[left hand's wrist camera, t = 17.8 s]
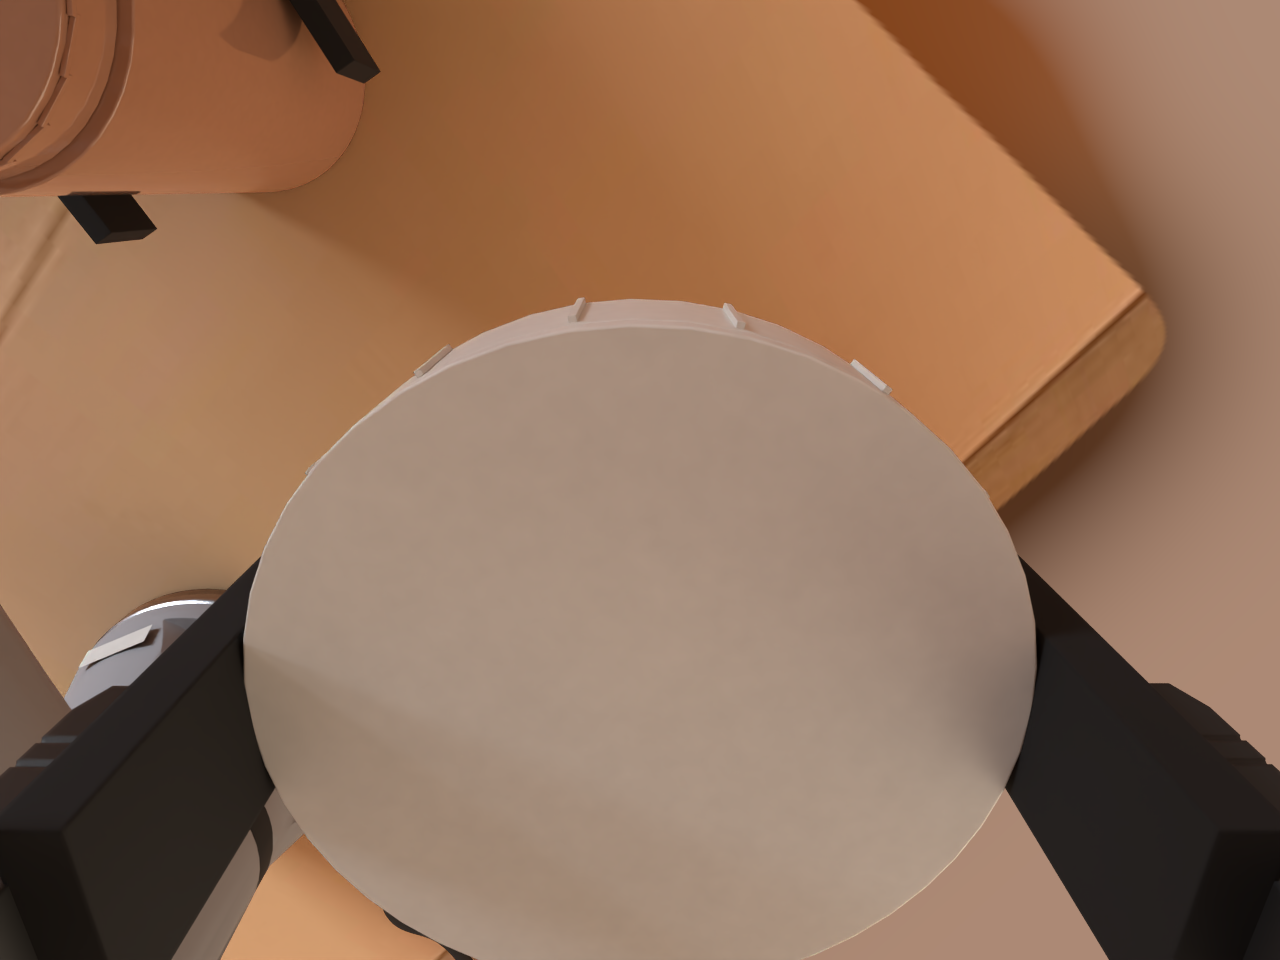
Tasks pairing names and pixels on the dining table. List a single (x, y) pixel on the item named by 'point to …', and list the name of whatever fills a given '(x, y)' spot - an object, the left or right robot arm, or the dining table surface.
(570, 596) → the lid
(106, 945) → the left robot arm
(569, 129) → the dining table surface
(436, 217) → the dining table surface
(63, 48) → the jar
